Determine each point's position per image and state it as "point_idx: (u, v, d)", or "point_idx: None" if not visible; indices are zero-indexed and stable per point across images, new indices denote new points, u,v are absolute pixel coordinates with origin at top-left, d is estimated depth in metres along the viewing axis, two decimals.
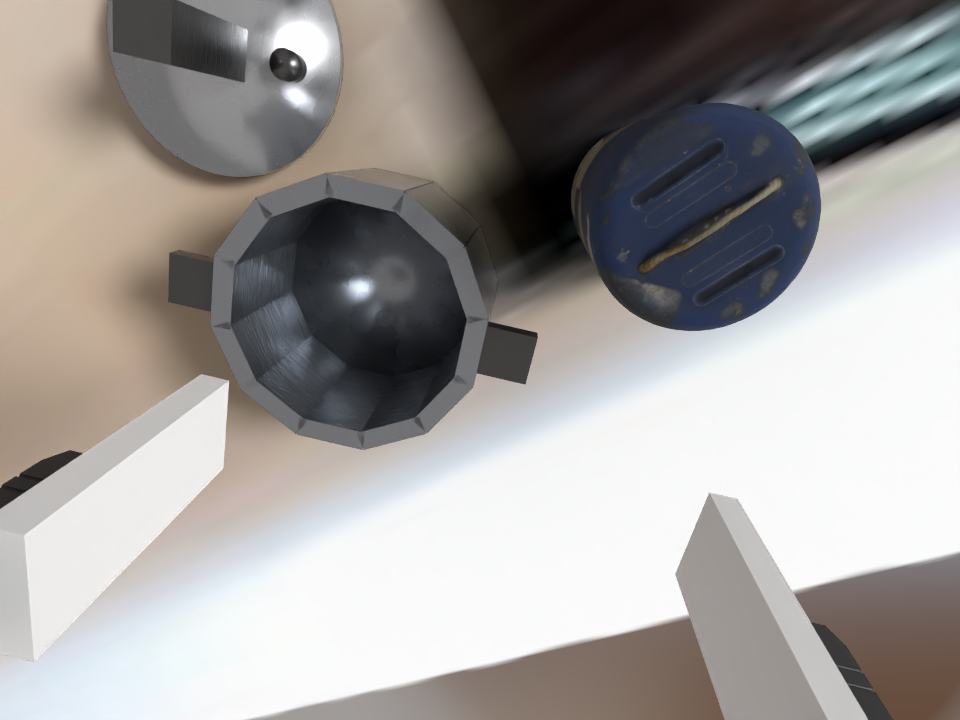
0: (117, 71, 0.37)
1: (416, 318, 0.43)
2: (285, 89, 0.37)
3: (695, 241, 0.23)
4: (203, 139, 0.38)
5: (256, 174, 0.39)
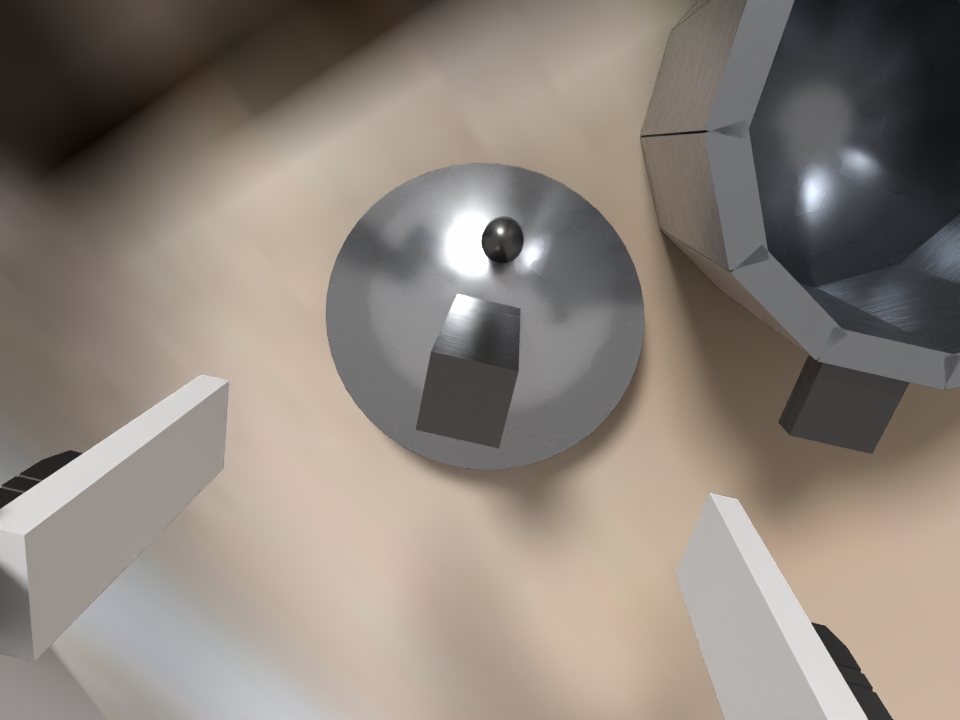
0: (502, 465, 0.30)
1: (909, 66, 0.24)
2: (531, 251, 0.26)
3: None
4: (589, 376, 0.28)
5: (642, 310, 0.26)
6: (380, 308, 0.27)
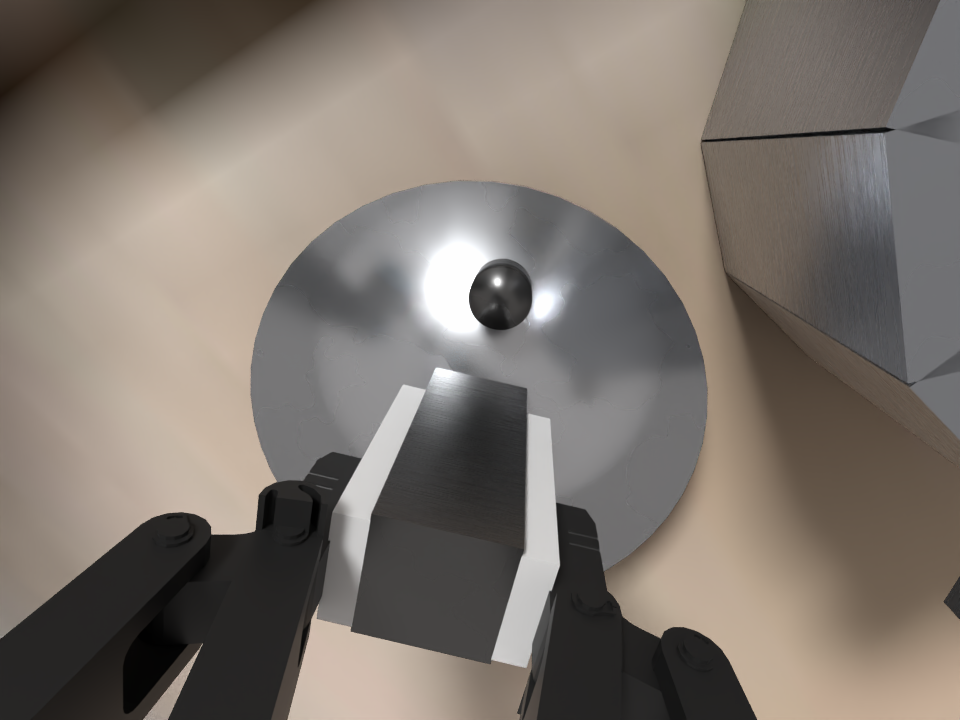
0: None
1: None
2: (543, 309, 0.18)
3: None
4: (624, 482, 0.19)
5: (705, 393, 0.18)
6: (327, 385, 0.19)
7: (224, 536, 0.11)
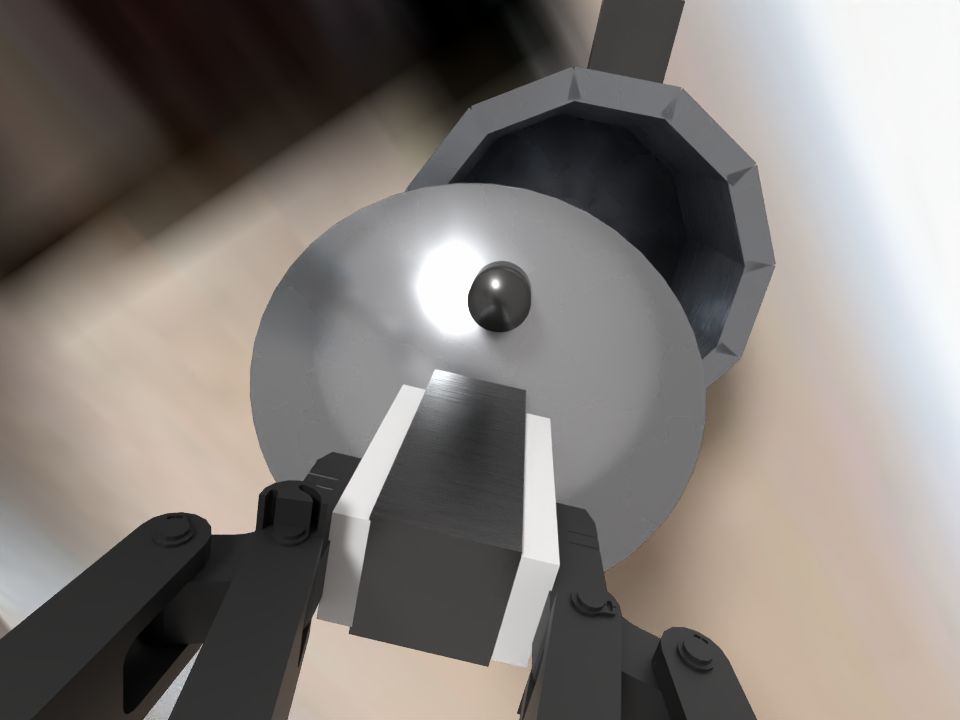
0: None
1: (605, 203, 0.33)
2: (542, 311, 0.18)
3: None
4: (623, 484, 0.19)
5: (703, 395, 0.18)
6: (326, 387, 0.19)
7: (224, 536, 0.11)
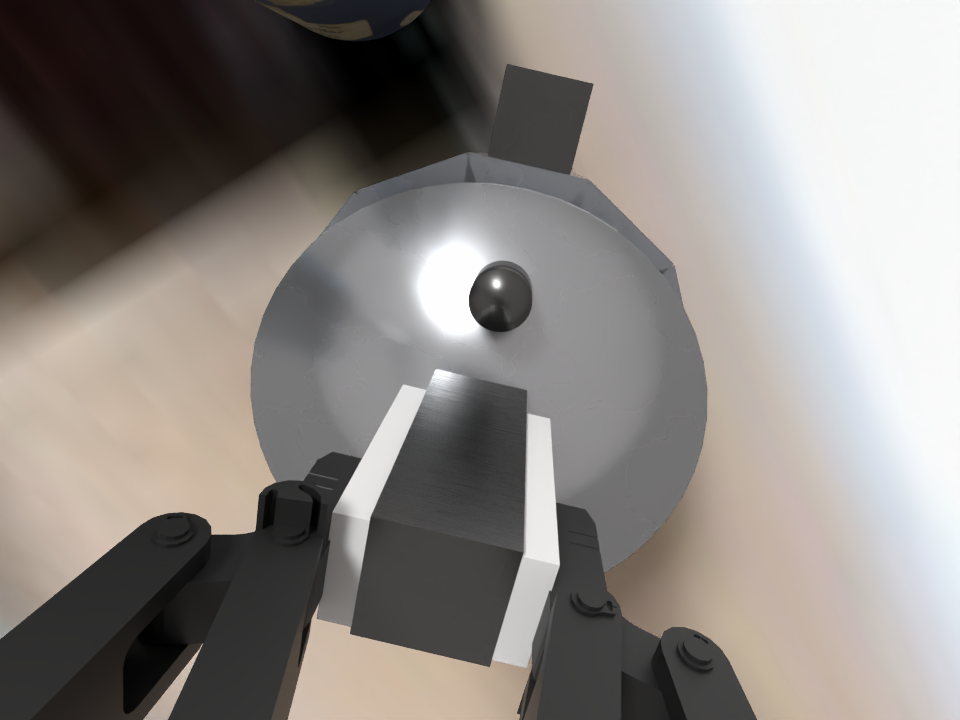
0: None
1: None
2: (543, 311, 0.18)
3: None
4: (624, 484, 0.19)
5: (705, 395, 0.18)
6: (327, 387, 0.19)
7: (224, 536, 0.11)
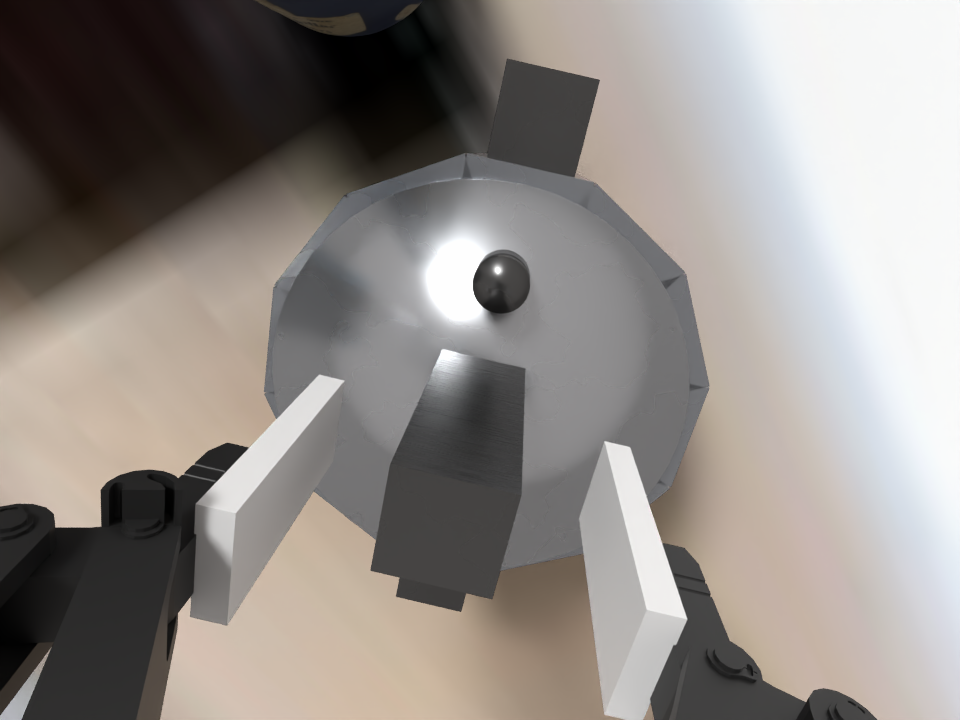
0: (501, 562, 0.23)
1: None
2: (540, 295, 0.19)
3: None
4: None
5: (687, 372, 0.20)
6: (342, 366, 0.21)
7: (77, 529, 0.10)
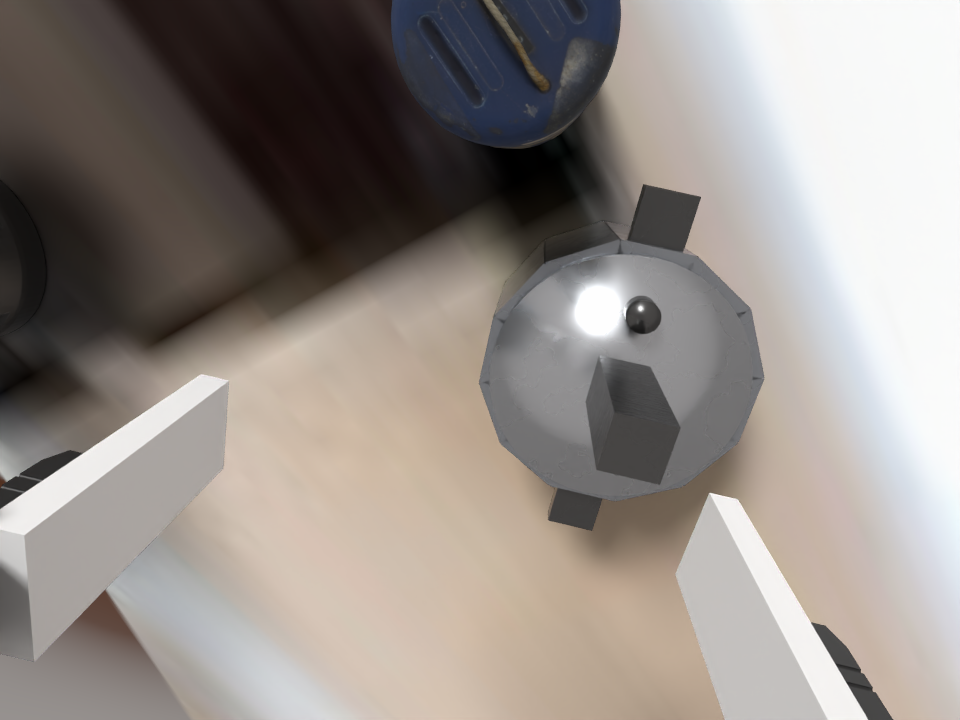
0: (626, 492, 0.36)
1: None
2: (662, 322, 0.32)
3: (511, 34, 0.22)
4: (704, 421, 0.34)
5: (751, 369, 0.33)
6: (535, 365, 0.34)
7: None
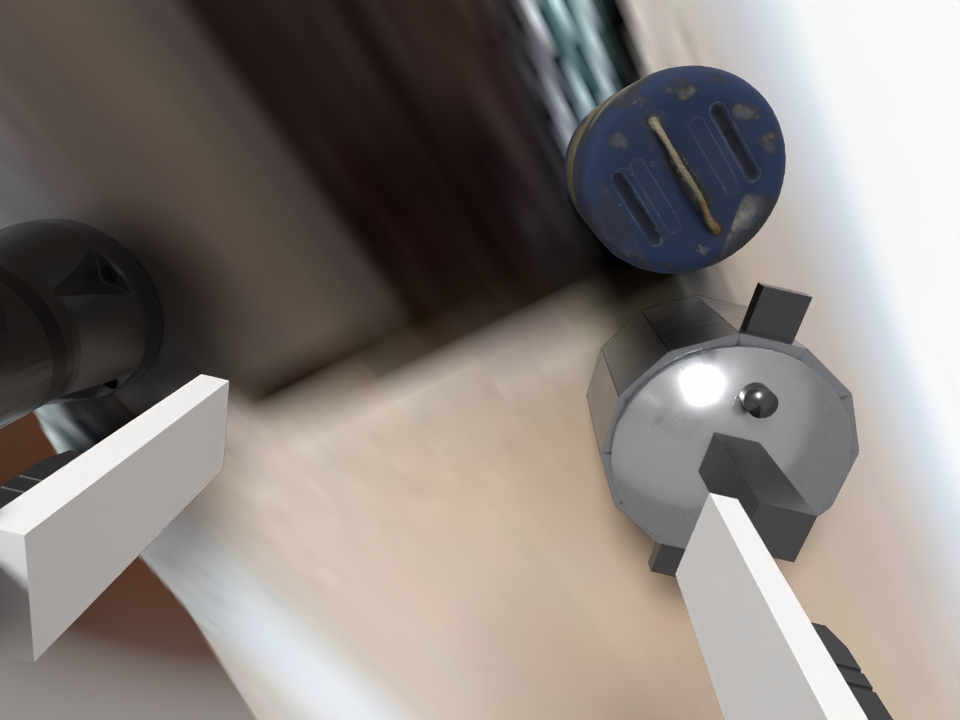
0: None
1: None
2: None
3: (699, 194, 0.26)
4: (804, 489, 0.38)
5: (850, 445, 0.37)
6: (655, 440, 0.38)
7: None
